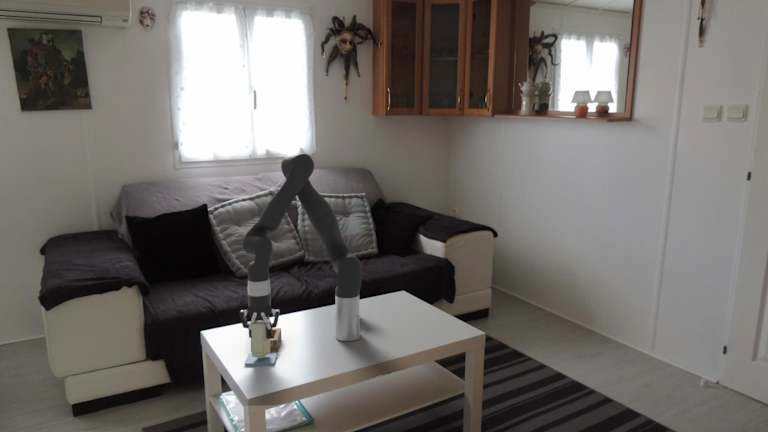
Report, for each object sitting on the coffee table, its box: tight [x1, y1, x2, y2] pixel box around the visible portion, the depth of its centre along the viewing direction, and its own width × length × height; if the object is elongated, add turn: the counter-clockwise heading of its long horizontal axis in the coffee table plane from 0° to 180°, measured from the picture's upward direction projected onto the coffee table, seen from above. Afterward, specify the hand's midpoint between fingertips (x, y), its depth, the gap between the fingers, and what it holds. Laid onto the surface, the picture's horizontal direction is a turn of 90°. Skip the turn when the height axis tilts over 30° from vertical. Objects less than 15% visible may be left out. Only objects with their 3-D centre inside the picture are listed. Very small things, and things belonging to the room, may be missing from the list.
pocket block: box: [250, 327, 282, 353], centre depth 209 cm, size 9×11×4 cm
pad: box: [244, 352, 278, 367], centre depth 196 cm, size 10×8×1 cm
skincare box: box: [251, 320, 271, 358], centre depth 195 cm, size 6×4×12 cm
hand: (260, 338), depth 195 cm, fingers closed on skincare box, 5 cm apart
